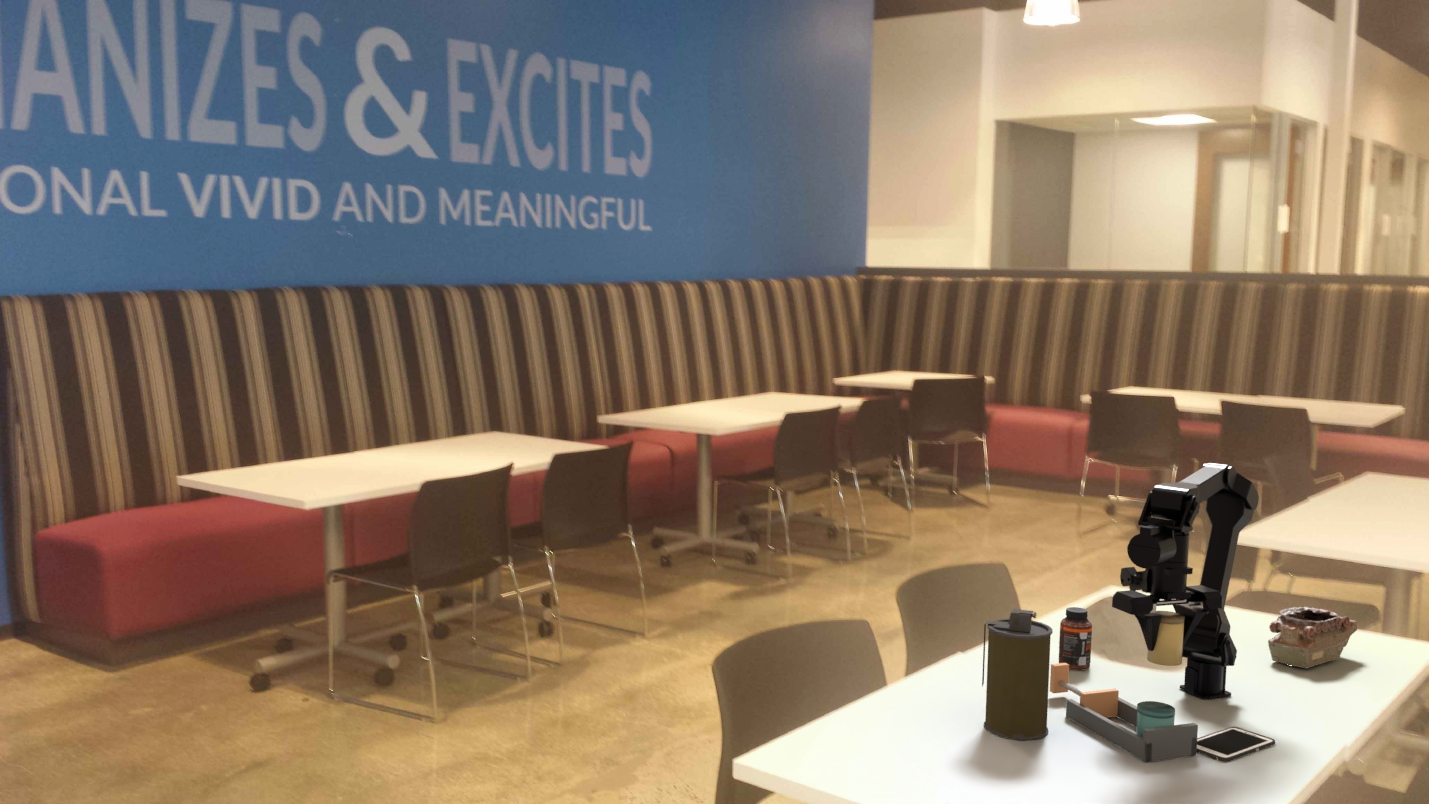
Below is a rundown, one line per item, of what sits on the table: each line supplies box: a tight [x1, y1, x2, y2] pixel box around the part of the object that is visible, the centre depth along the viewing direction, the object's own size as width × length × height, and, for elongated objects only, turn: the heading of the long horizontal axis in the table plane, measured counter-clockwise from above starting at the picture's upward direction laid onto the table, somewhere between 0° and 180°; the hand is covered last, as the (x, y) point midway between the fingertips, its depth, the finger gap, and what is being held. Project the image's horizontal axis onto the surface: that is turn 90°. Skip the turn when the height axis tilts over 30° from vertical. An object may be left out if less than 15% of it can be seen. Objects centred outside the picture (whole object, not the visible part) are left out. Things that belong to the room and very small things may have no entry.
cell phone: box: [1196, 726, 1276, 763], centre depth 197 cm, size 8×15×1 cm, turn 125°
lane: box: [1065, 696, 1199, 763], centre depth 200 cm, size 10×21×5 cm, turn 19°
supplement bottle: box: [1058, 606, 1093, 671], centre depth 236 cm, size 6×6×11 cm
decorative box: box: [1267, 605, 1358, 669], centre depth 245 cm, size 13×20×10 cm, turn 118°
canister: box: [981, 607, 1053, 741], centre depth 202 cm, size 11×10×20 cm
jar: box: [1135, 700, 1176, 738], centre depth 194 cm, size 6×6×7 cm
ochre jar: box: [1146, 610, 1185, 667], centre depth 208 cm, size 6×6×8 cm
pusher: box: [1049, 662, 1120, 718], centre depth 213 cm, size 7×13×6 cm, turn 19°
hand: (1165, 648), depth 209 cm, fingers closed on ochre jar, 6 cm apart
